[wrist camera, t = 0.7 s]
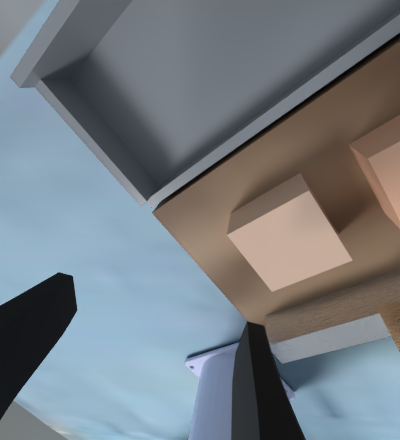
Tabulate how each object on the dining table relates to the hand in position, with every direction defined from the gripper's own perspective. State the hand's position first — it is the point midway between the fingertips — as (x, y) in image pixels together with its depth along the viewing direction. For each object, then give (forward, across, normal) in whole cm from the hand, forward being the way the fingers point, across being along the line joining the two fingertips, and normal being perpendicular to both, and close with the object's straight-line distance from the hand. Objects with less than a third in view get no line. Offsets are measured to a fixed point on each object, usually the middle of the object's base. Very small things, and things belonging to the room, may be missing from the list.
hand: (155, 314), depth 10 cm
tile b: (+7, -5, -2) cm, 9 cm away
